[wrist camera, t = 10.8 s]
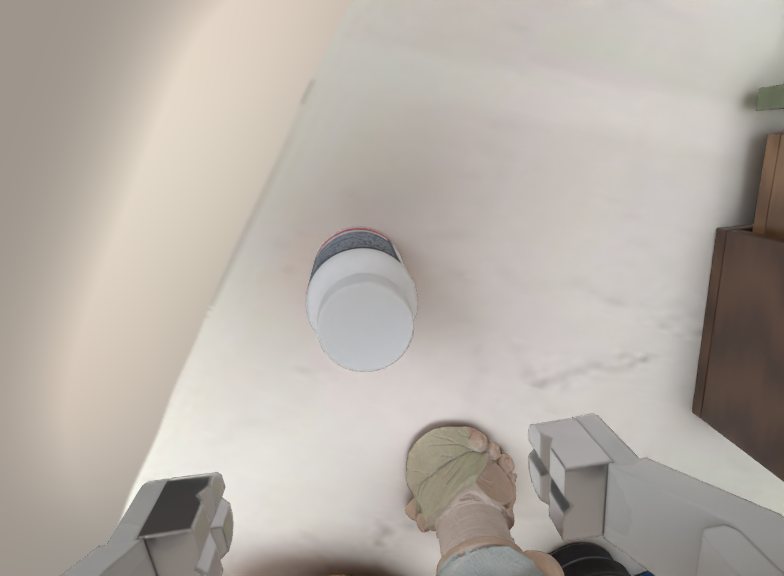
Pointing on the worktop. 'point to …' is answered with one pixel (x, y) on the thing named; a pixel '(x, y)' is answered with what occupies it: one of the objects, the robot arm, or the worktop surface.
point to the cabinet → (745, 345)
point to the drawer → (771, 171)
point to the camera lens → (587, 561)
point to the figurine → (469, 505)
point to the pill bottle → (361, 300)
